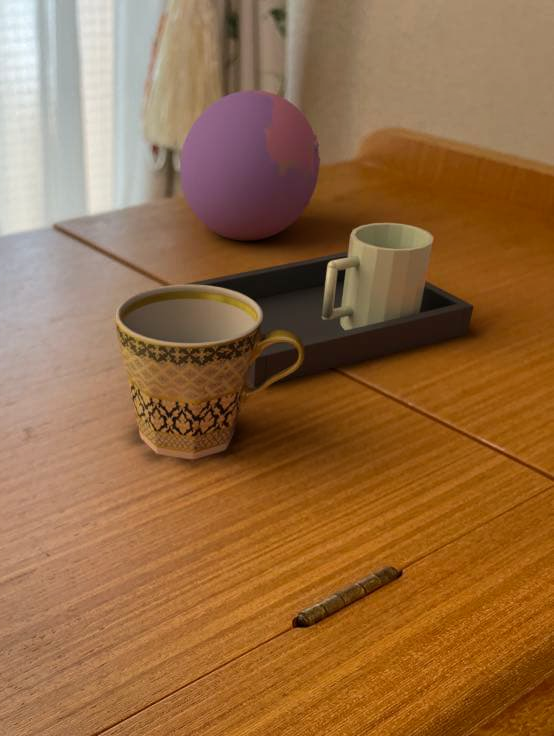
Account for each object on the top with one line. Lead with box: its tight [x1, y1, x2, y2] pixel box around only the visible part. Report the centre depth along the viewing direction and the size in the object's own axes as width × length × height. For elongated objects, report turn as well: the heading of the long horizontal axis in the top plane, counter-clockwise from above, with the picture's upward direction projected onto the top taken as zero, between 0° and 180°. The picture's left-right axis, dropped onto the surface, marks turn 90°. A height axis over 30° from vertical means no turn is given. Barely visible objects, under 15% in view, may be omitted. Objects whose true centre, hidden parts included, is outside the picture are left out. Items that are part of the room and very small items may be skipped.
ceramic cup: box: [114, 283, 305, 460], centre depth 61 cm, size 13×10×10 cm
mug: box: [322, 222, 435, 330], centre depth 76 cm, size 10×7×8 cm
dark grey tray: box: [181, 251, 475, 388], centre depth 79 cm, size 22×16×3 cm
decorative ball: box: [179, 89, 321, 242], centre depth 94 cm, size 15×15×15 cm
